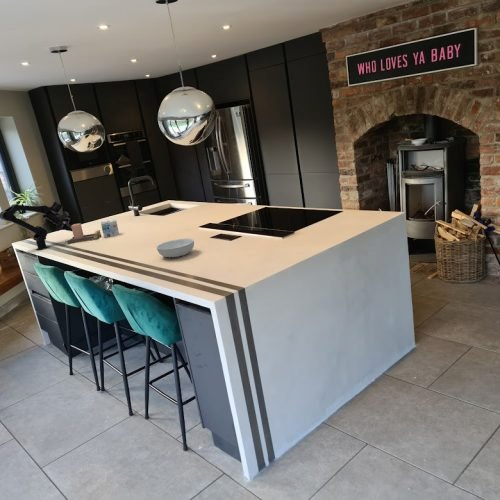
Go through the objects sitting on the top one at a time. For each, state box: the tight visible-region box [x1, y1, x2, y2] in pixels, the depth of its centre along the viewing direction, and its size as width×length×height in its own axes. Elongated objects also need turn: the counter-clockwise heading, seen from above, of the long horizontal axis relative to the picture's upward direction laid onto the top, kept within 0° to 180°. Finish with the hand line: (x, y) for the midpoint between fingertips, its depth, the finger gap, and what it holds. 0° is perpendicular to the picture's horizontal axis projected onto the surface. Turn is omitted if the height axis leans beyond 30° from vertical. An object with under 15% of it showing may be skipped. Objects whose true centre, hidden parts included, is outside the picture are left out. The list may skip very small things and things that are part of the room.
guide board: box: [66, 229, 102, 245], centre depth 340 cm, size 11×21×4 cm, turn 93°
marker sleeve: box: [70, 222, 85, 239], centre depth 338 cm, size 6×5×10 cm
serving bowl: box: [156, 238, 195, 259], centre depth 264 cm, size 21×21×7 cm
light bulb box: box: [100, 219, 120, 239], centre depth 339 cm, size 11×7×11 cm, turn 105°
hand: (73, 230), depth 338 cm, fingers closed
